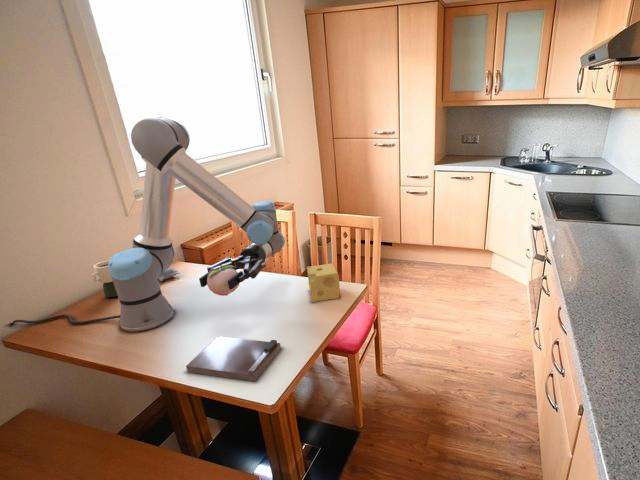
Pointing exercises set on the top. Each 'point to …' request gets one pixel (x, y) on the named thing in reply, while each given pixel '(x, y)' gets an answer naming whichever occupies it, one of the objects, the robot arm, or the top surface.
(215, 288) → the decorative fruit
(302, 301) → the top surface
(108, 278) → the character mug
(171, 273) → the packaged food
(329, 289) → the cheese
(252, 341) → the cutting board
